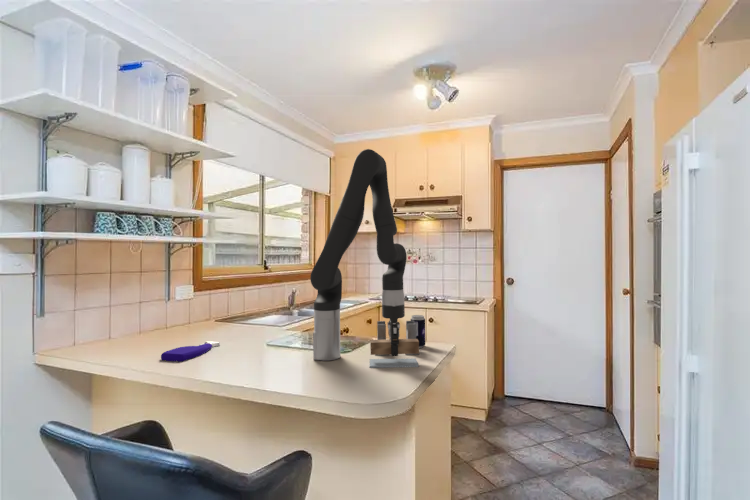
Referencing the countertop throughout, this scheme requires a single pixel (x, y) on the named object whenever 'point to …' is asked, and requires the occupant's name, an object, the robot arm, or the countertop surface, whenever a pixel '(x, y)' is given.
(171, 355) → the purple flat tapered piece
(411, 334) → the grey bracket
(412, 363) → the mat
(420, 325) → the beverage can
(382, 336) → the grey metal bracket
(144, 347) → the countertop surface
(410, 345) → the rail
